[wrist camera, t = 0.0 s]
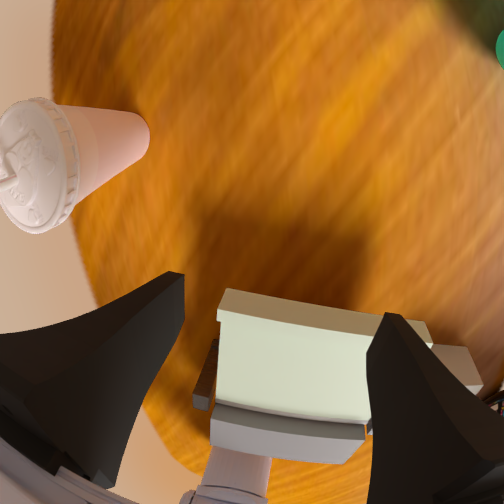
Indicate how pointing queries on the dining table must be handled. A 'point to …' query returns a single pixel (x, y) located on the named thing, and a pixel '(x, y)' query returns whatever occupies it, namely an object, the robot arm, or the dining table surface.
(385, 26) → the dining table surface
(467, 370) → the grey cube
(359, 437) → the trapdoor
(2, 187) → the smoothie
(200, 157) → the dining table surface
